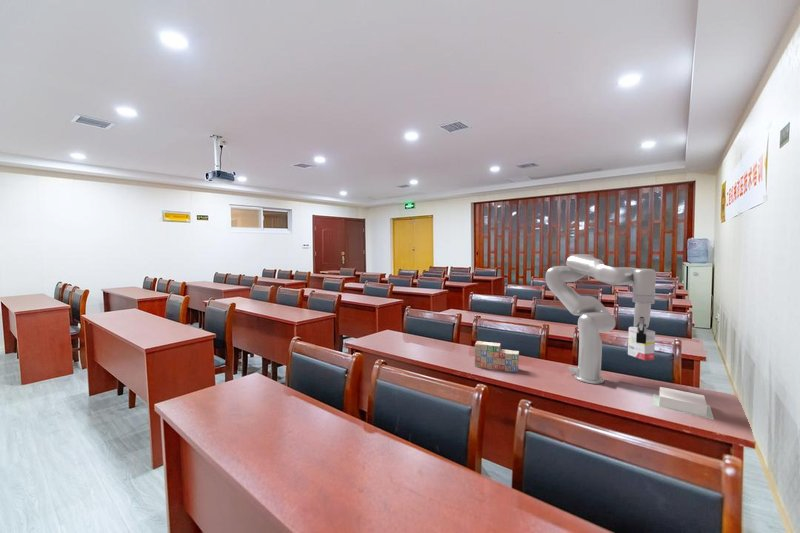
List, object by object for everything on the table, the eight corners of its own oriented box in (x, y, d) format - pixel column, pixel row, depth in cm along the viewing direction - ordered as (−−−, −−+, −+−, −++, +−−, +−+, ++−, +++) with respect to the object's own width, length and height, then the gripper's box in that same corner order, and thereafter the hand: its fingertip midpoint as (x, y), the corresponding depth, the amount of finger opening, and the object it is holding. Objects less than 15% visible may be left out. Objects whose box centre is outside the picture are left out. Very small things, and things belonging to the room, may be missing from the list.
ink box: (655, 360, 142) (656, 330, 142) (644, 360, 142) (645, 331, 141) (637, 353, 151) (638, 326, 150) (627, 354, 150) (628, 326, 149)
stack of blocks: (518, 369, 182) (519, 345, 181) (517, 373, 176) (518, 348, 175) (476, 363, 190) (477, 340, 189) (474, 366, 184) (474, 343, 183)
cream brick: (659, 406, 138) (659, 396, 138) (659, 396, 148) (659, 386, 148) (706, 416, 130) (707, 406, 130) (703, 405, 140) (704, 395, 140)
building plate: (652, 408, 139) (652, 405, 139) (653, 396, 150) (653, 394, 150) (713, 422, 128) (714, 419, 128) (709, 408, 139) (709, 405, 139)
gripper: (634, 296, 154) (632, 335, 155) (630, 300, 140) (628, 343, 141) (655, 297, 150) (653, 338, 150) (653, 302, 136) (652, 346, 137)
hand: (641, 340), depth 146 cm, fingers closed on ink box, 9 cm apart
